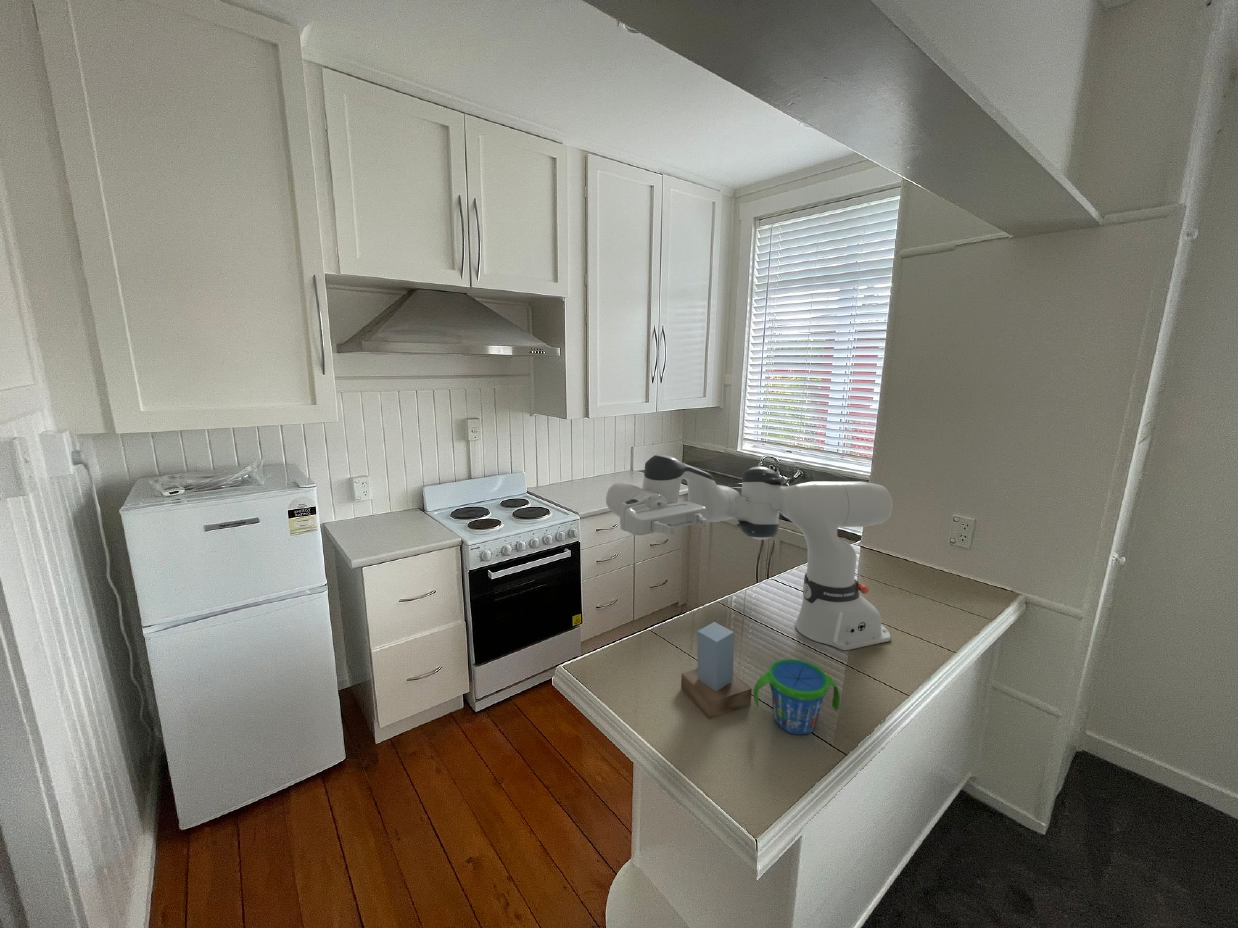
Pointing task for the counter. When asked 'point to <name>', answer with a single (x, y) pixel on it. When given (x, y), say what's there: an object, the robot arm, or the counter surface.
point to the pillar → (715, 656)
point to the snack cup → (797, 694)
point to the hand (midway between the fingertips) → (688, 527)
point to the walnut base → (716, 694)
